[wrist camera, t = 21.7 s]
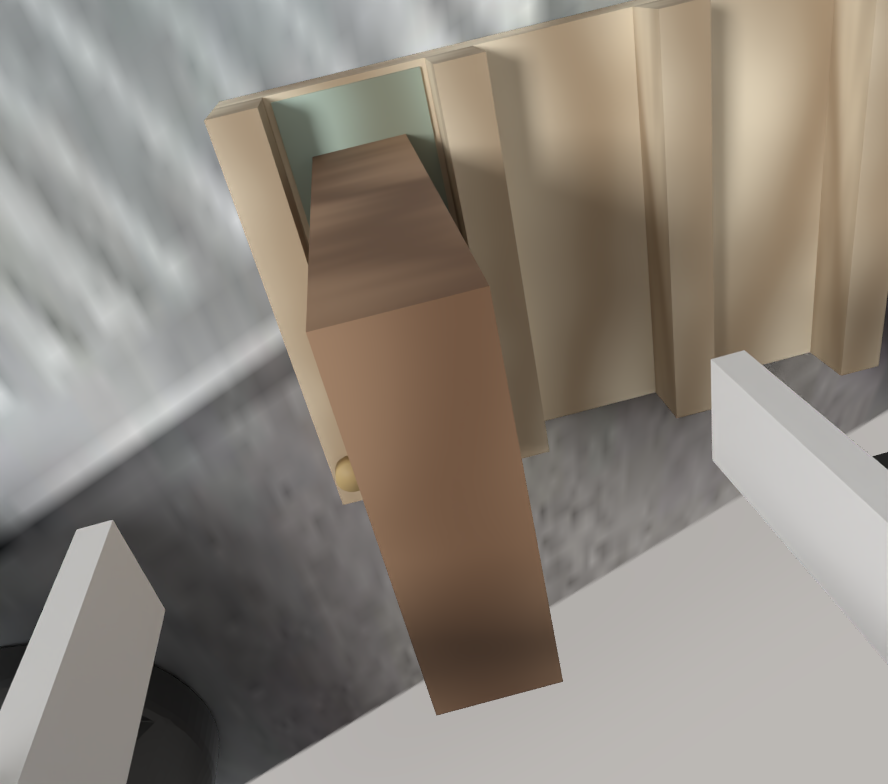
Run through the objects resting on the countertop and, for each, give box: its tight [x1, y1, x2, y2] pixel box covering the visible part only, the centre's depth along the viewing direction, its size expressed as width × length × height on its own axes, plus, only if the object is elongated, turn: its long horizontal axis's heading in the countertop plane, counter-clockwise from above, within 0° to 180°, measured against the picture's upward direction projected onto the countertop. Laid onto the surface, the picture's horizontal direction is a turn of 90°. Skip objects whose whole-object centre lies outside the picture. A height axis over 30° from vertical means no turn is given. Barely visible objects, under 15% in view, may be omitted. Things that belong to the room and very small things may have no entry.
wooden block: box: [306, 134, 563, 715], centre depth 20 cm, size 3×10×13 cm, turn 12°
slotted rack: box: [204, 0, 888, 505], centre depth 25 cm, size 21×14×4 cm, turn 102°
